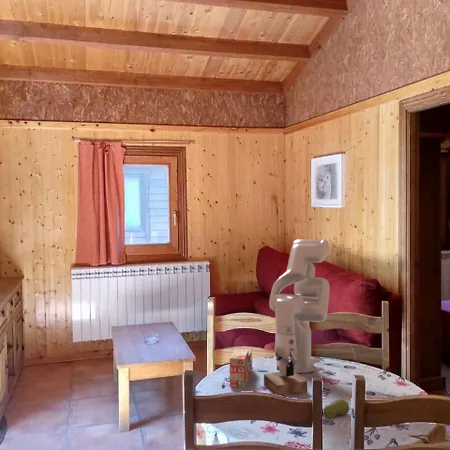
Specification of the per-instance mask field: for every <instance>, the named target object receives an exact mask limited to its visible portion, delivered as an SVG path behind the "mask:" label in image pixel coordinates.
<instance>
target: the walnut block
mask: <svg viewBox="0 0 450 450" xmlns="http://www.w3.org/2000/svg"><path fill="white" fill-rule="evenodd" d="M263 386H264V387H265V388H266V389H267V390H268V391H270V393H272V394H273V395H274V394H277V395H281V396H283V397H289V396H295V395H302V394H307V393H308V381H307V379H306V378H304V377H303V376H301V375H300V374H299V373H296V372H294V375H293V376H288V377H284V376H282V375H281V373H280V371H278V372H268V373H264V374H263Z"/></svg>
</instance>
